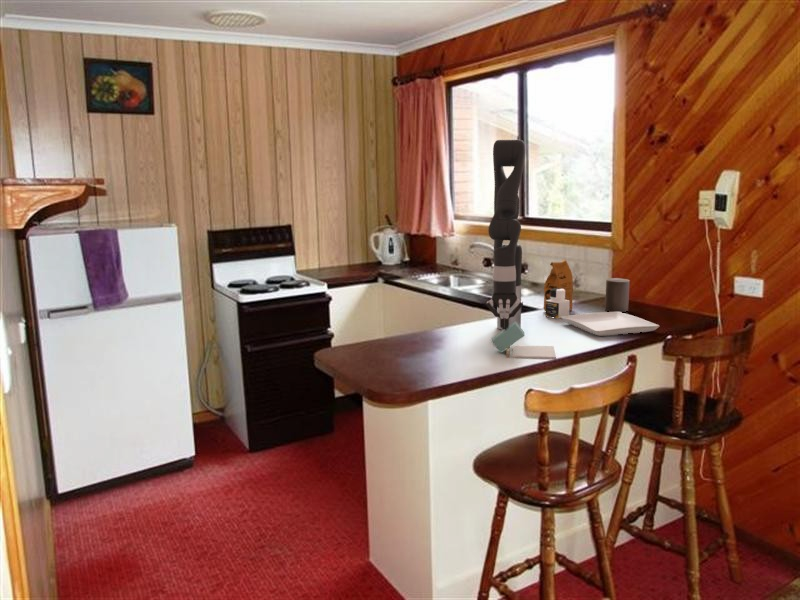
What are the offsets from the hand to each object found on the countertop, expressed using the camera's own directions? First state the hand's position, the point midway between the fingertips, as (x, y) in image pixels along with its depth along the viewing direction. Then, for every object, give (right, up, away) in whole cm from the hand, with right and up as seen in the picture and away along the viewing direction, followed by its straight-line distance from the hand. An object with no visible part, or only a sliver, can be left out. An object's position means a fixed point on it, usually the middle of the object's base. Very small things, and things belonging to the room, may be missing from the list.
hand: (504, 328), depth 228 cm
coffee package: (+34, +5, +66) cm, 74 cm away
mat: (+10, -8, 0) cm, 13 cm away
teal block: (-3, -6, +2) cm, 6 cm away
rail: (+2, -8, +1) cm, 8 cm away
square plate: (+45, -2, +32) cm, 55 cm away
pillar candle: (+59, +5, +63) cm, 86 cm away
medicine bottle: (+31, +3, +54) cm, 62 cm away
